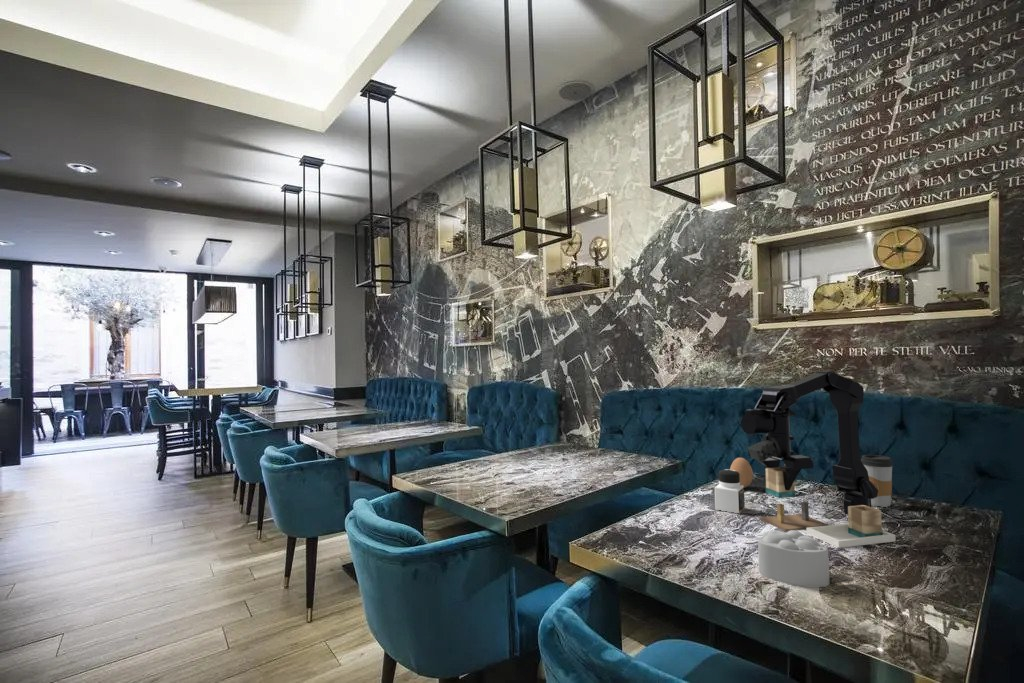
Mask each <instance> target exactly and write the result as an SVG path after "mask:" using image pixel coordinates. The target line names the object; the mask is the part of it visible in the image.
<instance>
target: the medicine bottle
mask: <svg viewBox="0 0 1024 683" xmlns="http://www.w3.org/2000/svg"><path fill="white" fill-rule="evenodd" d="M745 502H746V501H745V488H744V486H743V485H740V474H739V472H737V471H735V470H730V468H729V469H728V468H727V469H721V470H718V484H717V485H716V486H715V487H714V509H715V511H719V510H721V512H725V511H727V512H726V513H731V512H734V513H733V514H737V513H739V514H741V512H742V511H743V510H744V509H745V505H746V504H745Z"/></svg>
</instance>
